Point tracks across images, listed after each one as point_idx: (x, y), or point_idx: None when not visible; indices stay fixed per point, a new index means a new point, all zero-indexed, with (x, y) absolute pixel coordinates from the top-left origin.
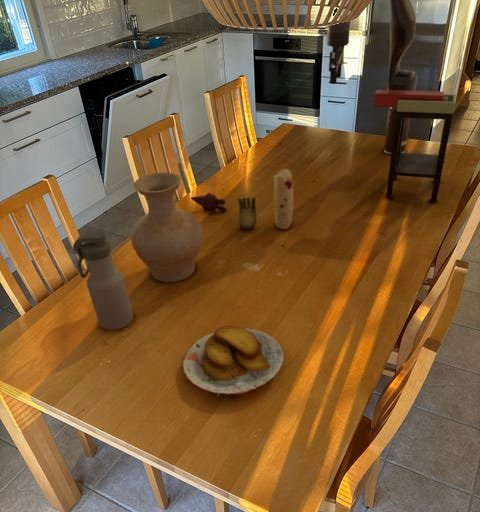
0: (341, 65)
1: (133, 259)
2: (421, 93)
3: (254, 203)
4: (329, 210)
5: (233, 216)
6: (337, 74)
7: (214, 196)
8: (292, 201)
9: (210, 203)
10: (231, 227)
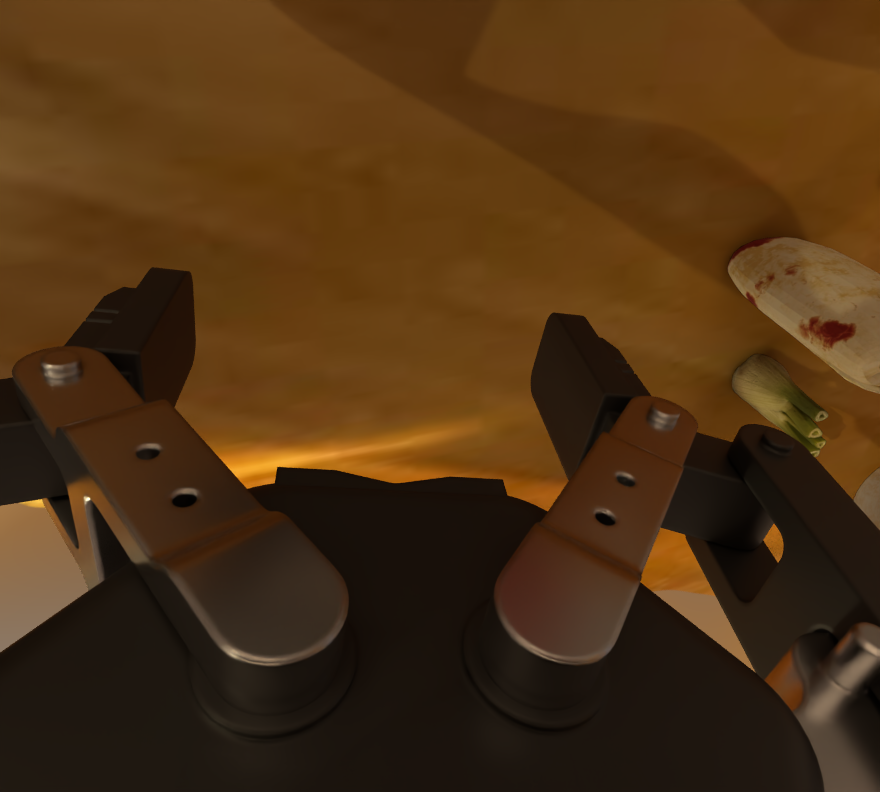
0: (105, 358)
1: None
2: None
3: (811, 399)
4: (680, 74)
5: None
6: (181, 337)
7: None
8: (861, 268)
9: None
10: (731, 415)
